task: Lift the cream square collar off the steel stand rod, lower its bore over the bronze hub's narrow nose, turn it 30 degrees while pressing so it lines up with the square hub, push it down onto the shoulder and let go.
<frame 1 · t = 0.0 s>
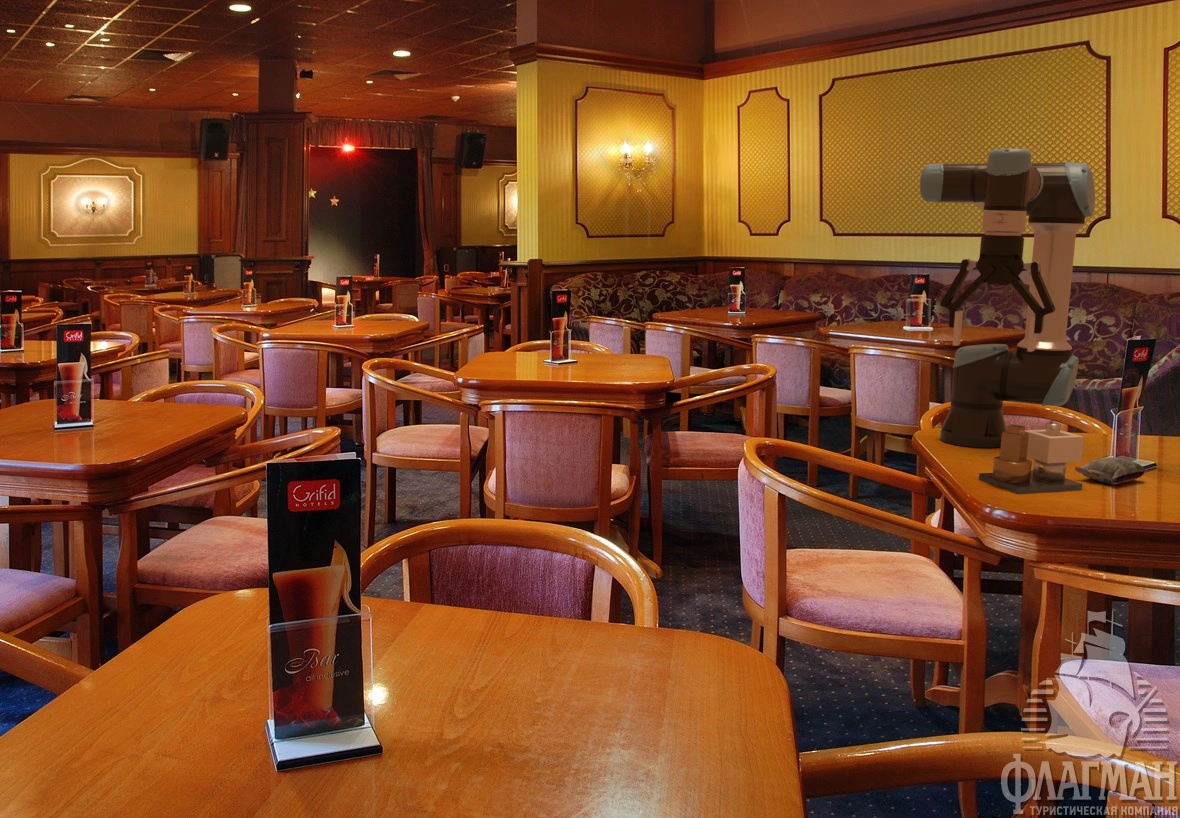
hand: (992, 348, 205), 28 cm above the table, fingers open, 13 cm apart
packaged food: (1108, 482, 221), on the table
jig plate: (1029, 484, 216), on the table
stand: (1048, 483, 218), resting on jig plate
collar: (1050, 458, 217), point 5 cm above the table, touching stand
hub: (1010, 485, 215), resting on jig plate
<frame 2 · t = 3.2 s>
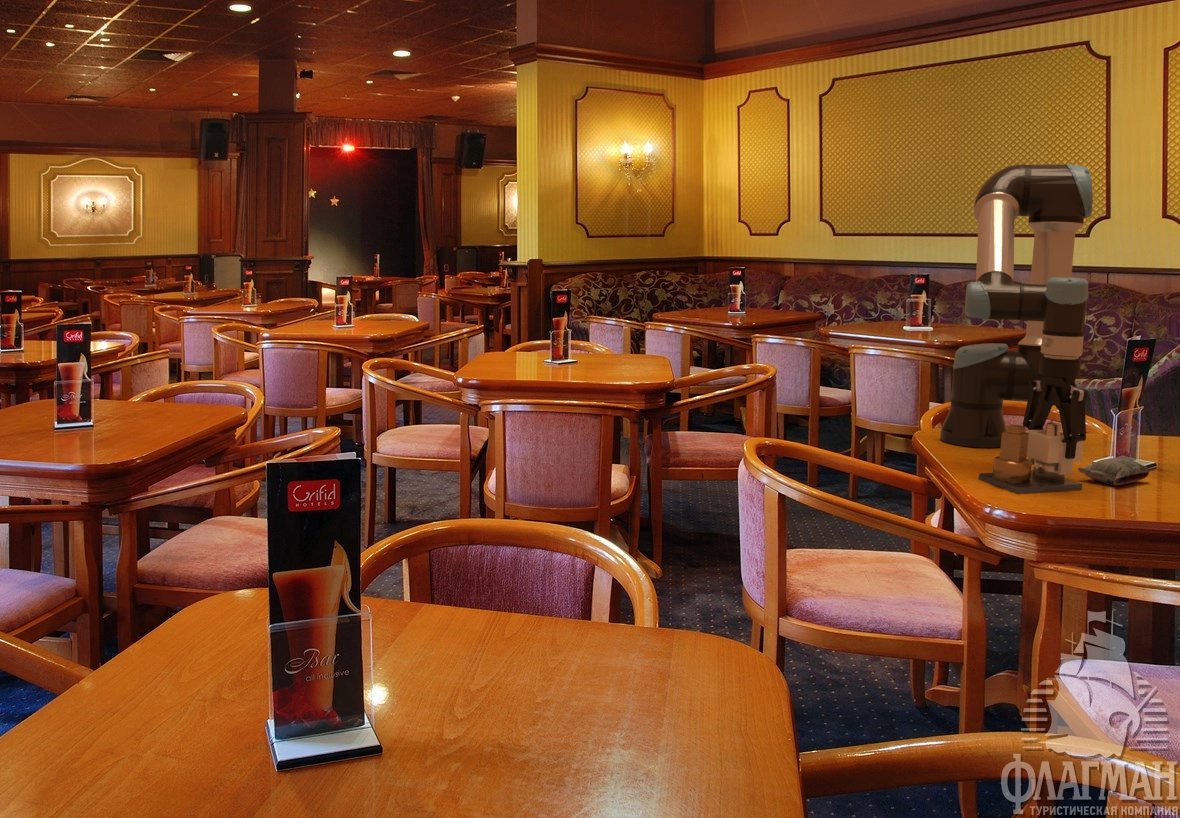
hand: (1049, 468, 217), 3 cm above the table, fingers closed on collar, 8 cm apart
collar: (1050, 458, 217), point 5 cm above the table, touching gripper, stand
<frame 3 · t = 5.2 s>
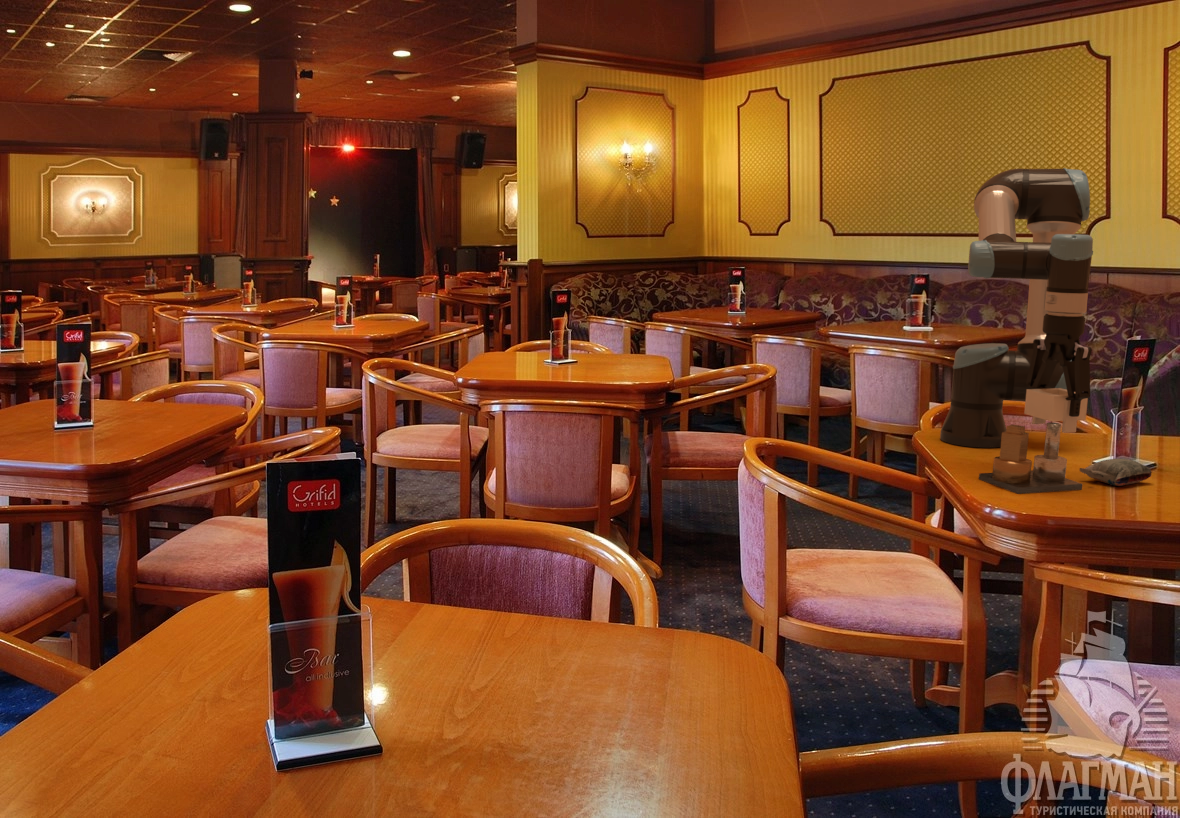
hand: (1053, 427, 216), 11 cm above the table, fingers closed on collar, 8 cm apart
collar: (1054, 416, 215), point 14 cm above the table, touching gripper
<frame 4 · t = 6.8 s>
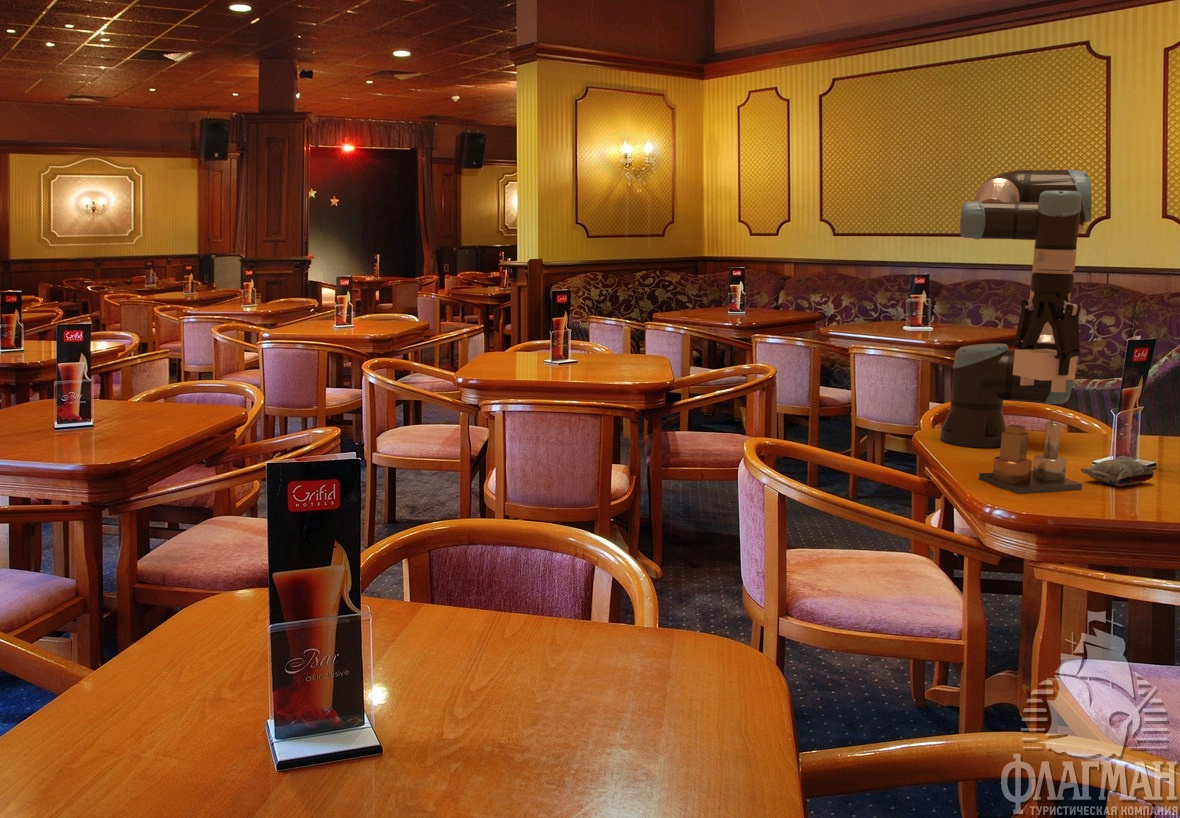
hand: (1042, 388, 213), 19 cm above the table, fingers closed on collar, 8 cm apart
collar: (1043, 377, 212), point 22 cm above the table, touching gripper
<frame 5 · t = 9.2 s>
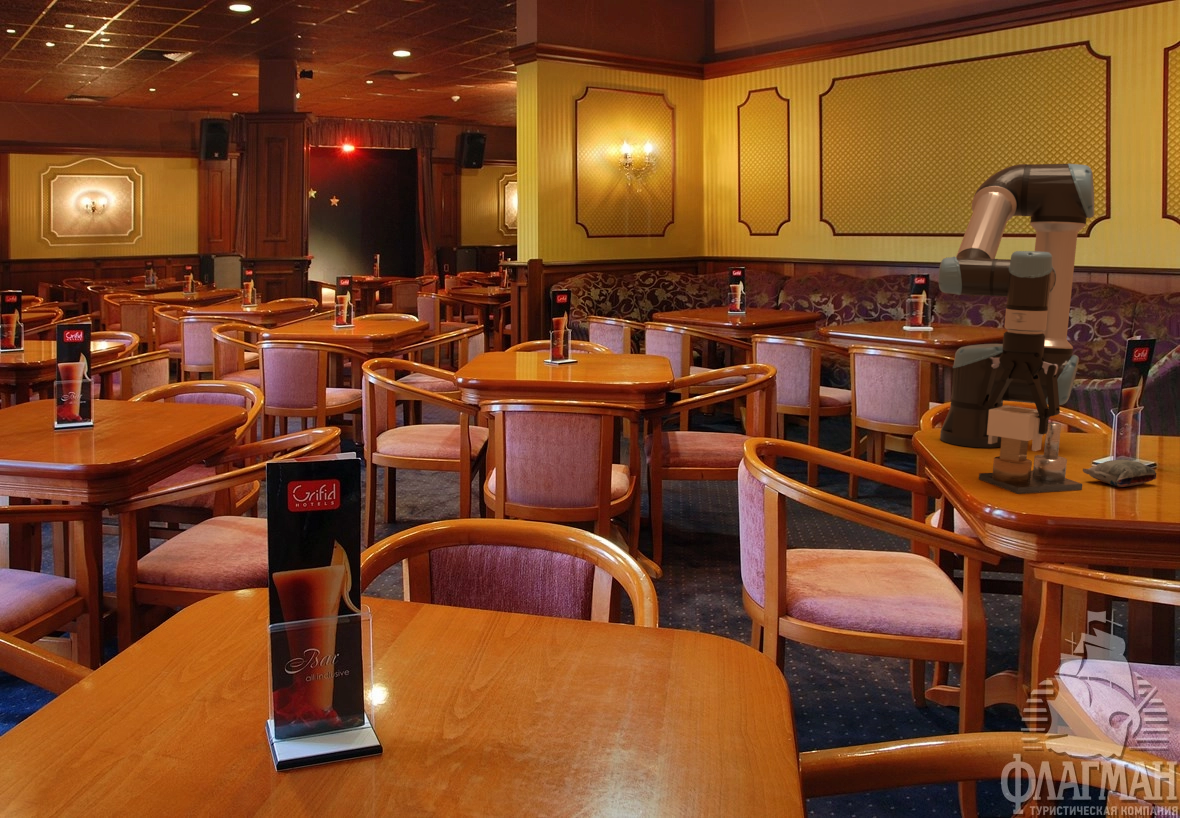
hand: (1014, 446, 214), 8 cm above the table, fingers closed on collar, 8 cm apart
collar: (1015, 435, 213), point 10 cm above the table, touching gripper
when the fingers open (3 cm above the table, at t = 10.7 s): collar stays where it is, resting on hub.
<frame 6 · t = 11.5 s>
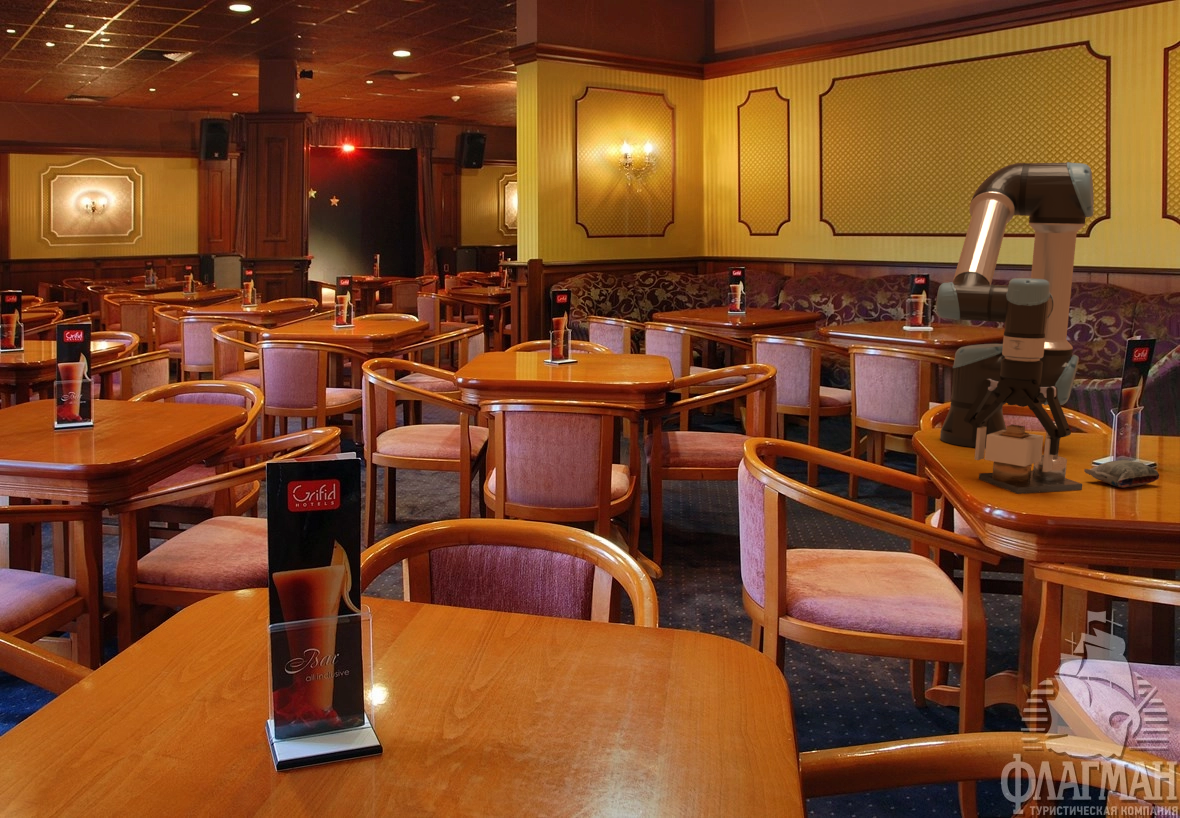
hand: (1012, 464, 214), 4 cm above the table, fingers open, 13 cm apart
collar: (1012, 460, 214), point 5 cm above the table, touching hub
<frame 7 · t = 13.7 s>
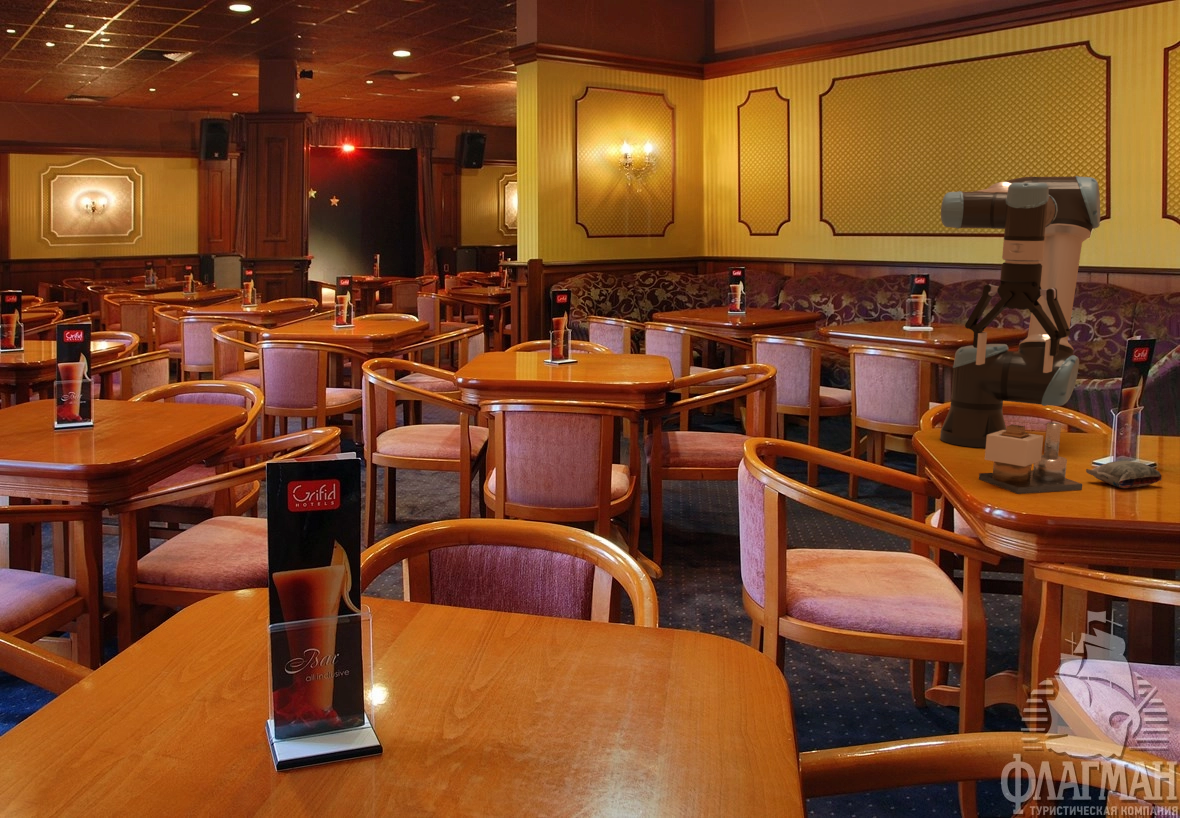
hand: (1013, 368, 218), 23 cm above the table, fingers open, 13 cm apart
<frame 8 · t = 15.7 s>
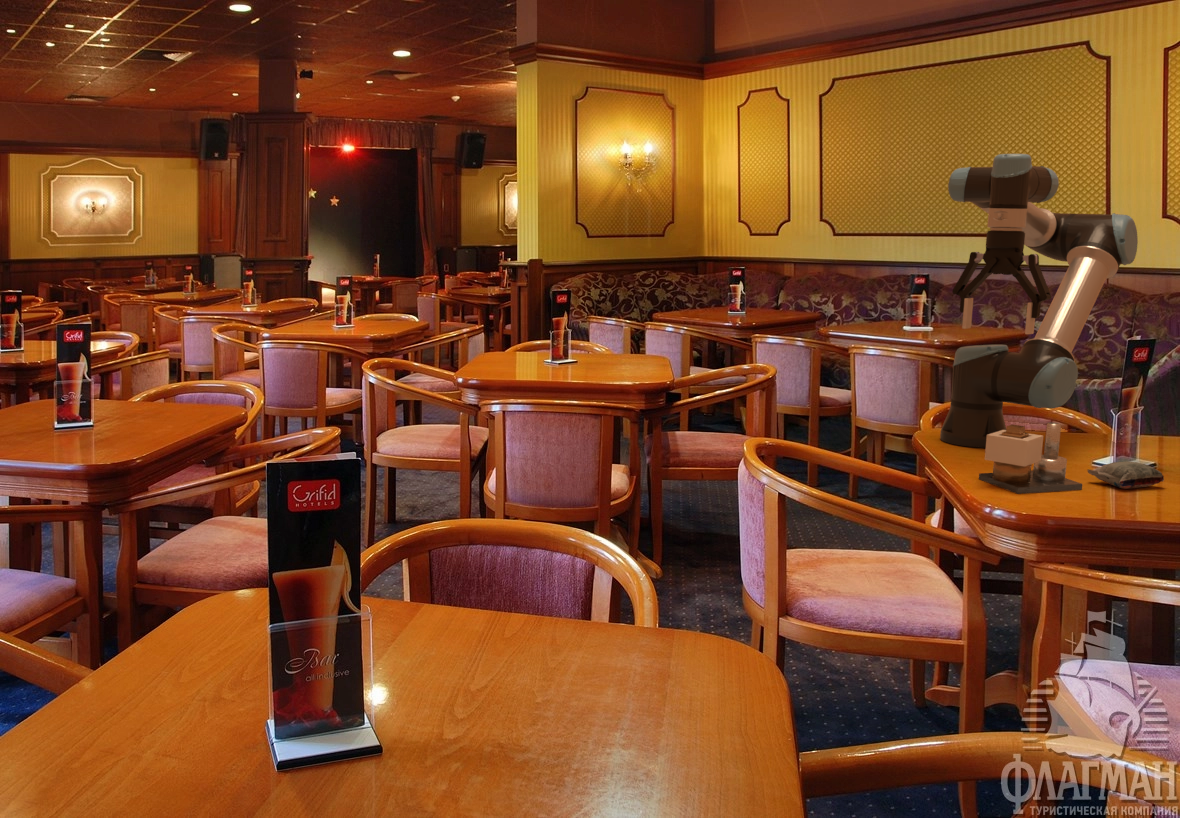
hand: (997, 331, 230), 29 cm above the table, fingers open, 13 cm apart
at the end: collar 0.1 cm off-centre on the hub, point 5.2 cm above the hub's base; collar tilted 0°; the gripper is holding nothing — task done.
